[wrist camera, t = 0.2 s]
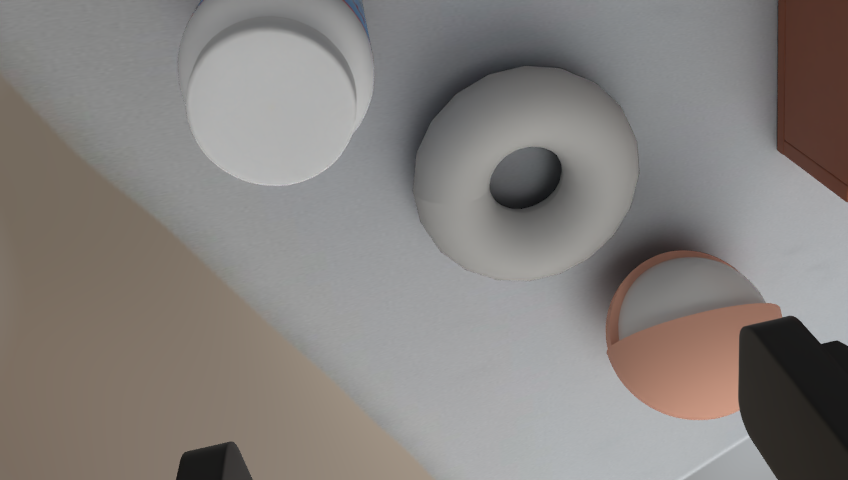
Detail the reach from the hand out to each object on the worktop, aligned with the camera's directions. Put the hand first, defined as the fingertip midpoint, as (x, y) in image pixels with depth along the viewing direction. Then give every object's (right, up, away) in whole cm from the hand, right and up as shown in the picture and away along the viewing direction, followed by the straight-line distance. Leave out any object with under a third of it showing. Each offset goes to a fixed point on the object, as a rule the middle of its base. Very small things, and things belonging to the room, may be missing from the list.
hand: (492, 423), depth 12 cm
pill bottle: (-7, +12, +19) cm, 23 cm away
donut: (+3, +6, +23) cm, 24 cm away
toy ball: (+11, 0, +28) cm, 30 cm away
